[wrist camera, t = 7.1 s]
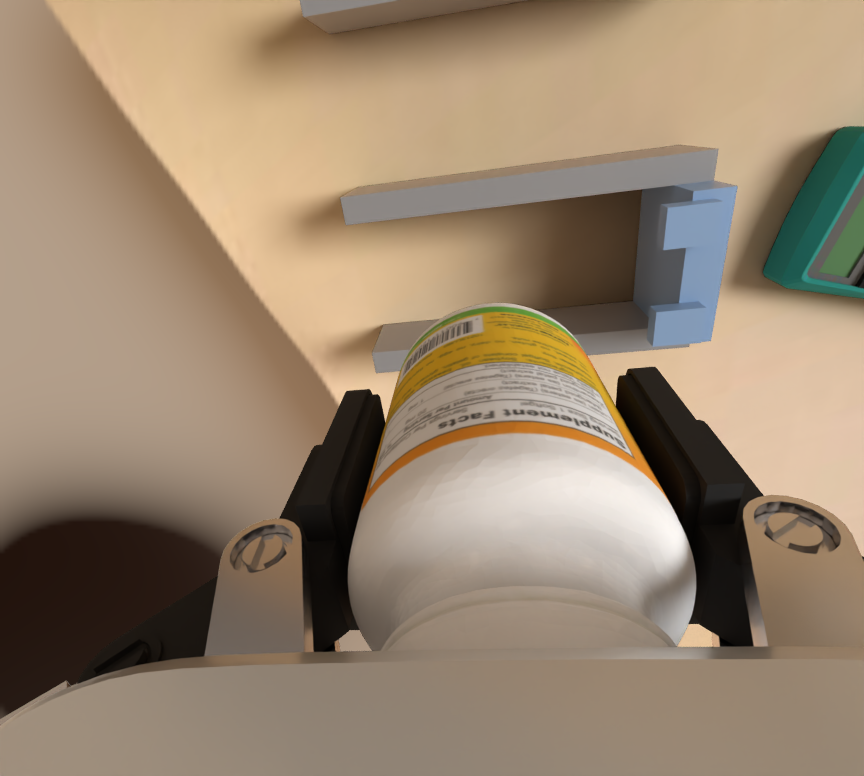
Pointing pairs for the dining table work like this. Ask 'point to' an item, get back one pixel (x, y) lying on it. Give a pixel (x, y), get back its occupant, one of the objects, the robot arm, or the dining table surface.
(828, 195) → the digital multimeter
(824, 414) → the dining table surface
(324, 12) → the grey parallel walls
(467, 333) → the supplement bottle
